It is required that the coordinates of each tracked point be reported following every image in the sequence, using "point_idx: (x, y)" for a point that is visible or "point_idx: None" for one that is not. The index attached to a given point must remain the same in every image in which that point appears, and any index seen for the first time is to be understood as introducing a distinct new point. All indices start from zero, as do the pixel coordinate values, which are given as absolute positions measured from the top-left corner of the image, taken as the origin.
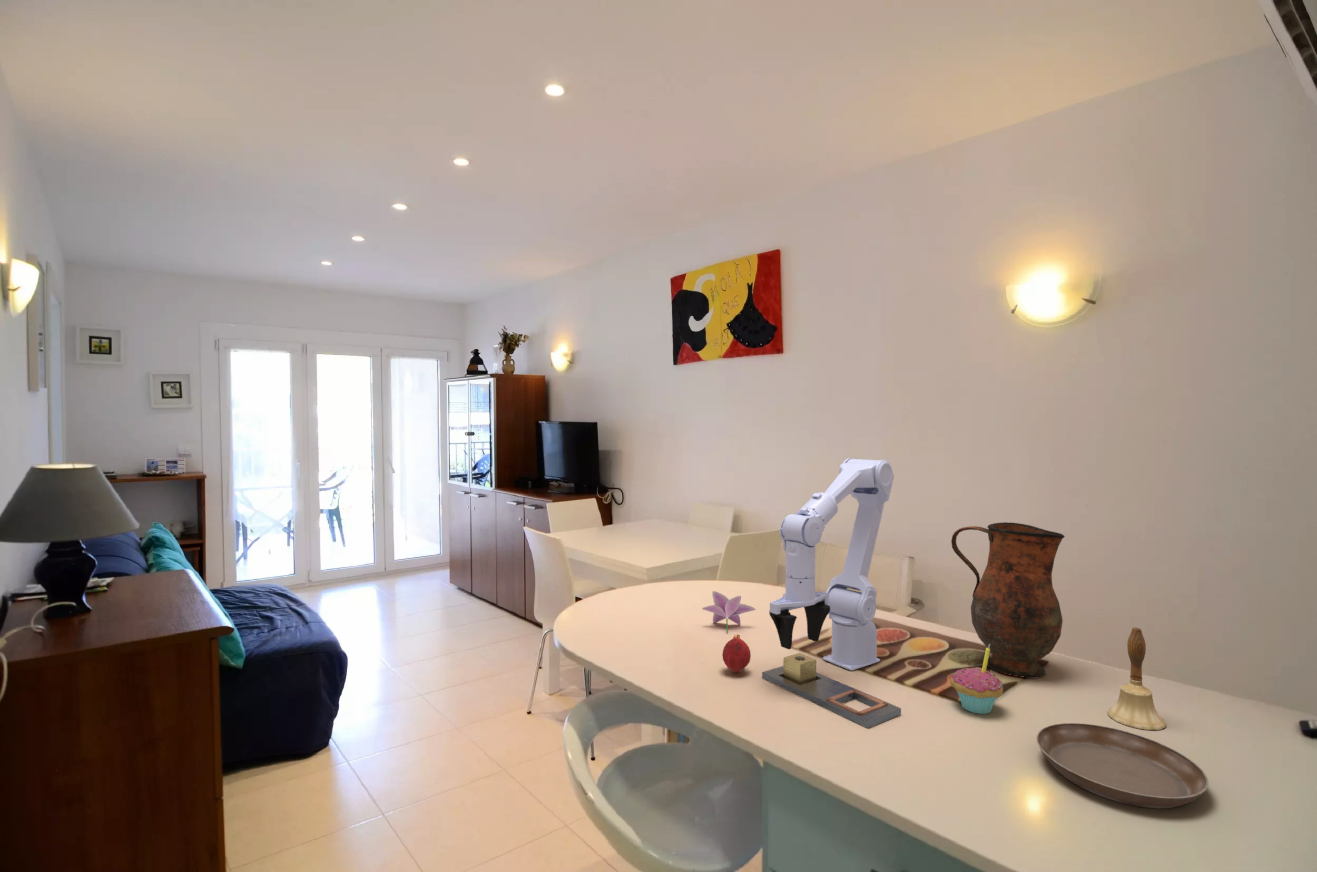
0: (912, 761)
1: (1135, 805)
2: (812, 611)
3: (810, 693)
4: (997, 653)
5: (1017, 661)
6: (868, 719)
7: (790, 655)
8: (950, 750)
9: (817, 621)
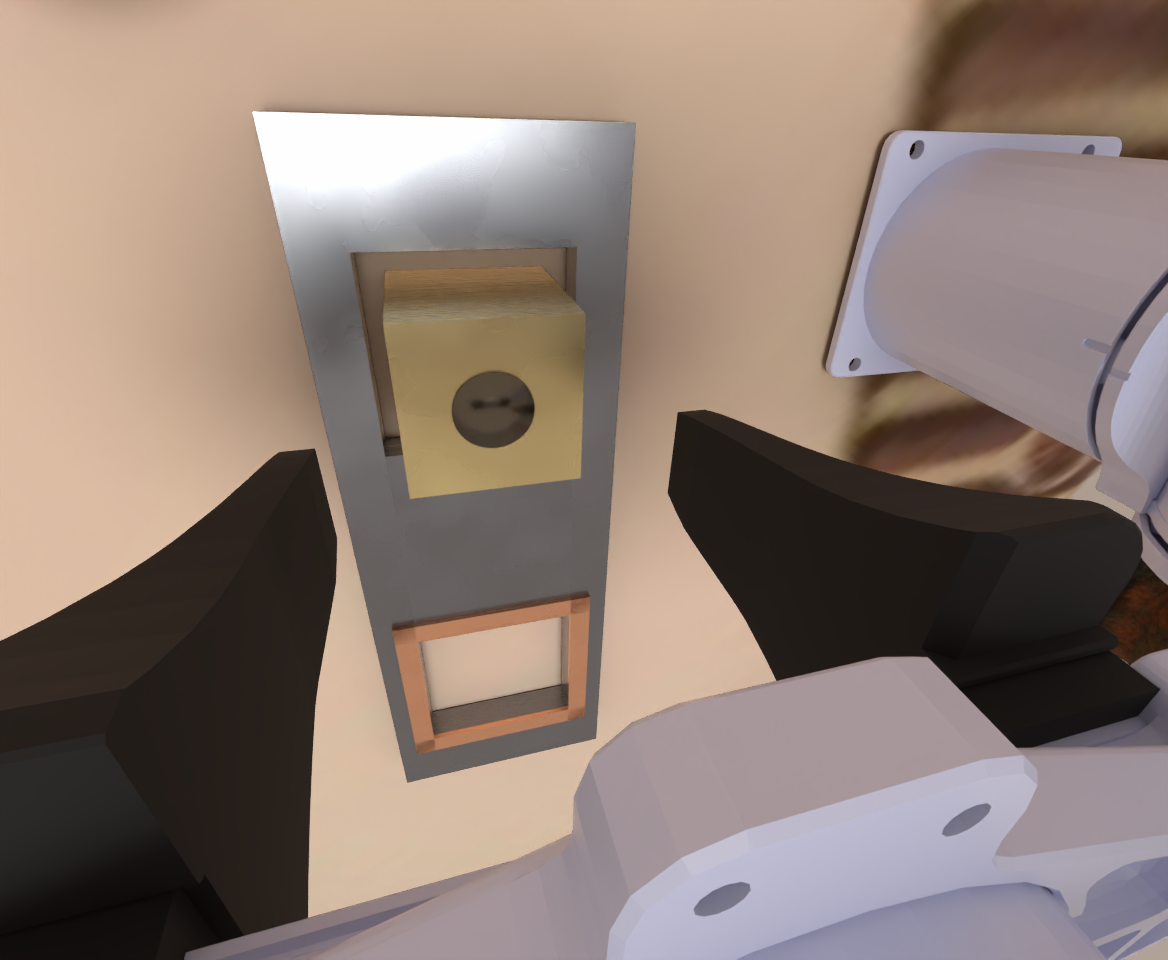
0: (375, 884)
1: None
2: (855, 645)
3: (366, 555)
4: (1157, 637)
5: (1129, 658)
6: (421, 773)
7: (472, 320)
8: (516, 858)
9: (769, 628)
